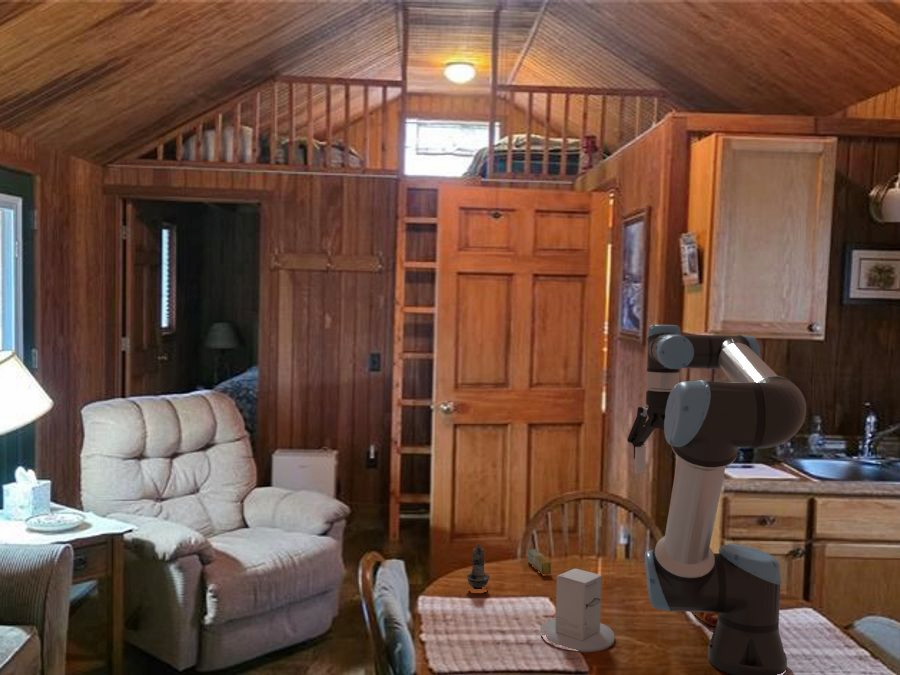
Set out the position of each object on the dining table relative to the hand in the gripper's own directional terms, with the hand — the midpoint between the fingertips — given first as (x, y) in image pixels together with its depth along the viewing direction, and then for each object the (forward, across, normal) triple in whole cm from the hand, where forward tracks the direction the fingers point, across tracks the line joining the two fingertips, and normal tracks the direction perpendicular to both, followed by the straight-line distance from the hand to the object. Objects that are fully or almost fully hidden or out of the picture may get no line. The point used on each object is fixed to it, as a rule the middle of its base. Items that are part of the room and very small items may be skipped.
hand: (660, 478), depth 190 cm
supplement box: (+31, -3, +27) cm, 41 cm away
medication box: (+32, +37, +7) cm, 49 cm away
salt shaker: (+32, +31, +31) cm, 54 cm away
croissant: (+32, -8, -10) cm, 34 cm away
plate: (+32, -3, +27) cm, 42 cm away
